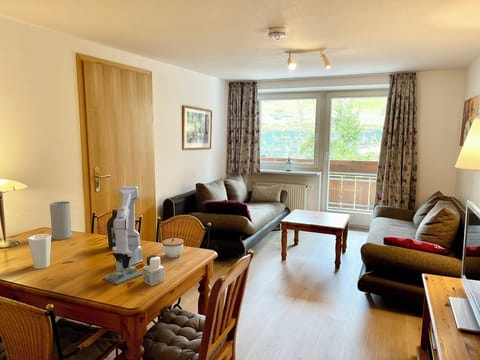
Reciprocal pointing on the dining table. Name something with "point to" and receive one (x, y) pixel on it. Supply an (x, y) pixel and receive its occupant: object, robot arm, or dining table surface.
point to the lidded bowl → (173, 247)
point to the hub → (120, 266)
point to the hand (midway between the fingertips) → (122, 266)
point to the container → (153, 271)
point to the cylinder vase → (60, 220)
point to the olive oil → (111, 230)
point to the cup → (40, 250)
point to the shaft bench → (123, 276)
